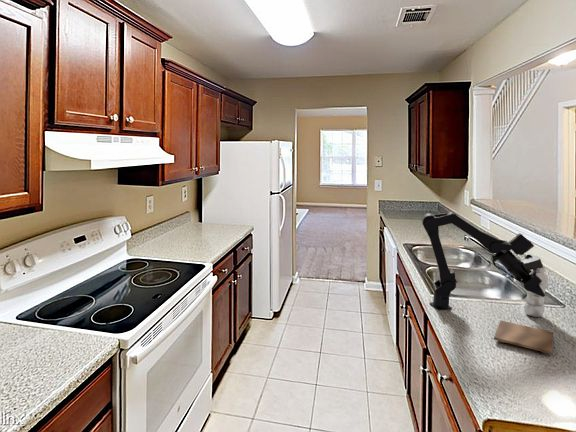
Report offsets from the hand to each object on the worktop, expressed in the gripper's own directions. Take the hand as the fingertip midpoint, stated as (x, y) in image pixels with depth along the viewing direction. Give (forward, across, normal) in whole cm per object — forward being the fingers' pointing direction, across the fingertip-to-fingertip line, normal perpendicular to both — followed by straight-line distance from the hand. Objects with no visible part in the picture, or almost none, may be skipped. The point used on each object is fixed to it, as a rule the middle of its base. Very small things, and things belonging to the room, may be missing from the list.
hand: (540, 292), depth 146 cm
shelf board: (-2, -23, +15) cm, 28 cm away
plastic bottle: (+6, 0, +8) cm, 10 cm away
